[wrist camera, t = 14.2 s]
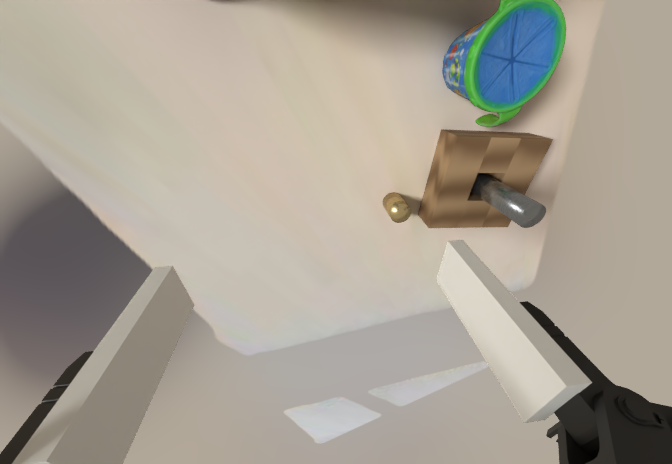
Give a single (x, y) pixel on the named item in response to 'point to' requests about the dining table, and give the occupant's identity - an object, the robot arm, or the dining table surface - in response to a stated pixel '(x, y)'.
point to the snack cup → (506, 57)
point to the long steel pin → (508, 201)
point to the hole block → (462, 168)
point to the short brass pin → (396, 207)
